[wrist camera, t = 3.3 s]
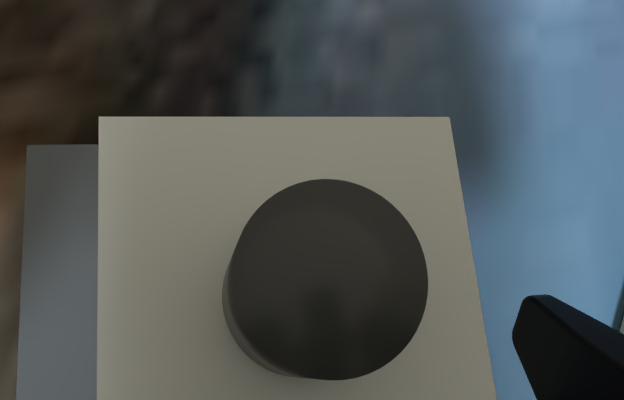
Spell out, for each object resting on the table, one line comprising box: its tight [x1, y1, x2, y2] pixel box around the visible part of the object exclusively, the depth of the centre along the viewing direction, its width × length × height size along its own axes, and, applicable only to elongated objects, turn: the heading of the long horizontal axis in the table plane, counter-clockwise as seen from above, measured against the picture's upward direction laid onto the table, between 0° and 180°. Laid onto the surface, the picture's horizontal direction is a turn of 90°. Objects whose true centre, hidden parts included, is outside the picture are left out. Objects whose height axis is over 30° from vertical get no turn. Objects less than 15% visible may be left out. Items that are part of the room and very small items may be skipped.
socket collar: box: [16, 144, 99, 400], centre depth 15 cm, size 10×10×3 cm
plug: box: [97, 117, 497, 400], centre depth 11 cm, size 4×4×12 cm
